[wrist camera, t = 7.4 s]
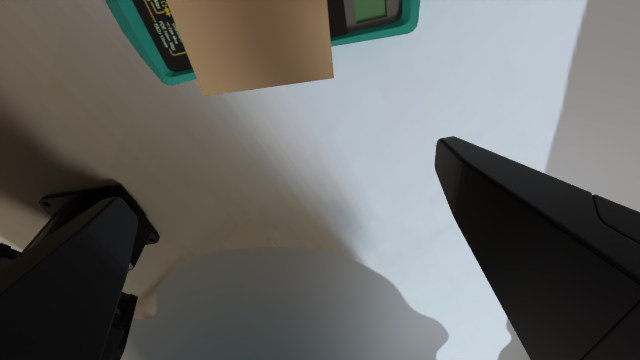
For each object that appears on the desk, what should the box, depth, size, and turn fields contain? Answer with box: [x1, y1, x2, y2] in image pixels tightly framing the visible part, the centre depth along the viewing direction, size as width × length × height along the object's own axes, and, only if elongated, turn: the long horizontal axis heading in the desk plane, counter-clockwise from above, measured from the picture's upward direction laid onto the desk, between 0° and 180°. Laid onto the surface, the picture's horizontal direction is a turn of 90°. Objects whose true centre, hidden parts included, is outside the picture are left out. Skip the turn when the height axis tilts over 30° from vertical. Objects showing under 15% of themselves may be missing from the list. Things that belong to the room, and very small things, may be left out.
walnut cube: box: [166, 0, 334, 96], centre depth 12 cm, size 5×5×5 cm
